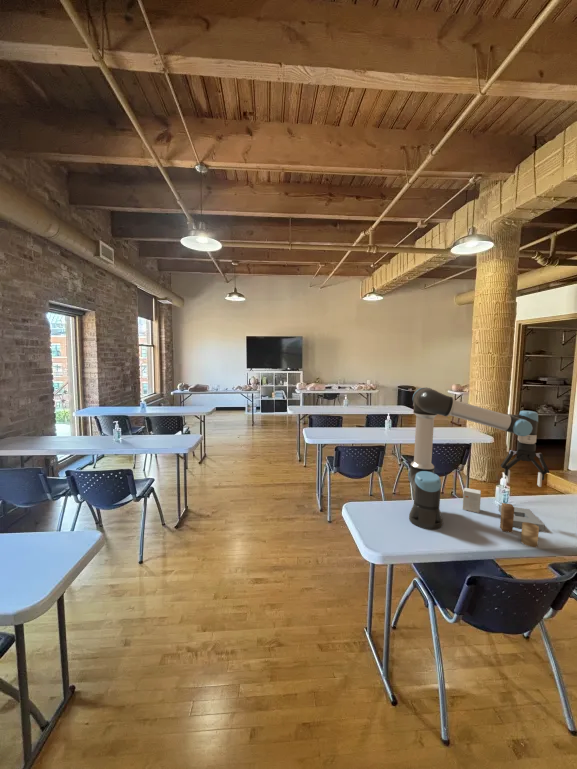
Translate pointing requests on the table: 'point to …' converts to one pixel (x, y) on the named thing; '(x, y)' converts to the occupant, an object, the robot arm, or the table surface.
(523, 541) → the light brown wooden block
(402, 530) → the table surface
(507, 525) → the square peg
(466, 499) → the small box
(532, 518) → the socket block
